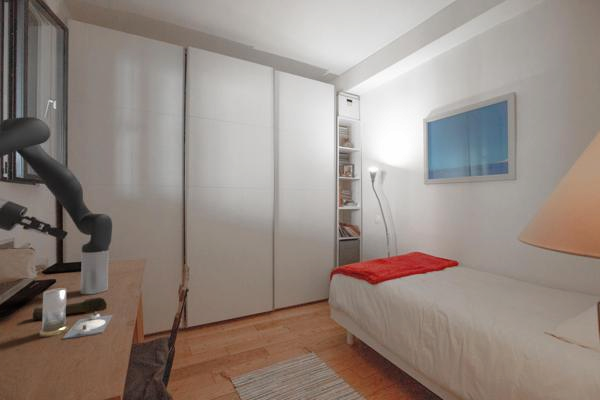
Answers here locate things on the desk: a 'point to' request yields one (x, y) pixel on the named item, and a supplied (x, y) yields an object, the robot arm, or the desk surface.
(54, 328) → the clear glass cylinder
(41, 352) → the desk surface
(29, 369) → the desk surface
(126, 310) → the desk surface
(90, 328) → the board
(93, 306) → the hand tool
